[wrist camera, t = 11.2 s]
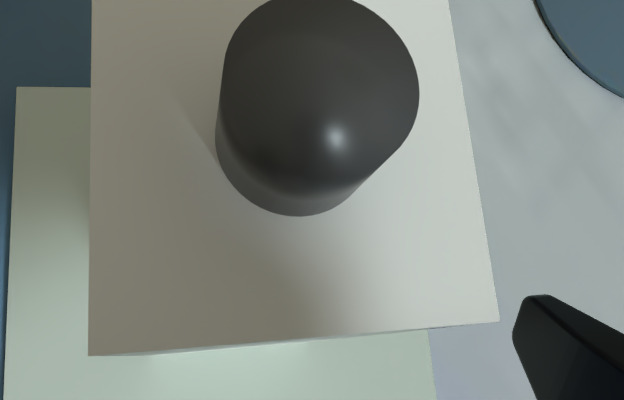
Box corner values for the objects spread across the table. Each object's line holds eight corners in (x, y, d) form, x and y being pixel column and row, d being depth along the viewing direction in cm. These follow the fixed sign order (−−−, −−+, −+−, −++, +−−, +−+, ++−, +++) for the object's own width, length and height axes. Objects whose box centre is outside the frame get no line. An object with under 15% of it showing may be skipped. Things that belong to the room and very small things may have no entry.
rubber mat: (436, 462, 17) (445, 465, 17) (5, 525, 15) (-3, 532, 14) (389, 98, 20) (395, 90, 20) (22, 95, 18) (16, 86, 17)
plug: (306, 342, 17) (587, 311, 5) (152, 355, 16) (53, 355, 4) (295, 198, 18) (504, -104, 6) (150, 203, 17) (65, -148, 5)
